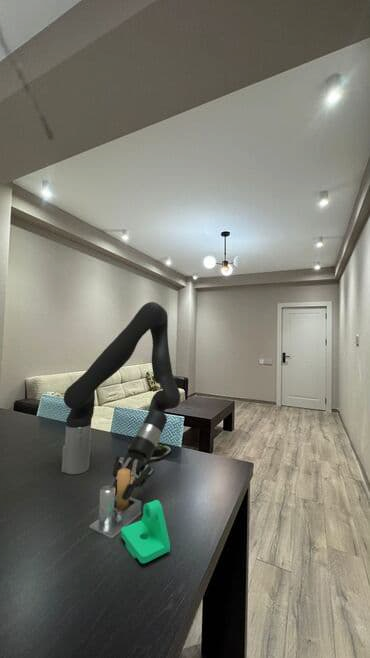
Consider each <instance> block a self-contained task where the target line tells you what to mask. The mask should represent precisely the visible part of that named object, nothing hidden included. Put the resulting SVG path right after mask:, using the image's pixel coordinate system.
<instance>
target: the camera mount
mask: <svg viewBox="0 0 370 658" xmlns="http://www.w3.org/2000/svg"><path fill="white" fill-rule="evenodd" d="M142 514H143V515H142V517H141V519H140V520H138V521H136V522H134V523H133V522H132V523H130V524H128V525H127V526H125V527H123V528H122V529H121V531H120V537H121V539H122V540H123V541H124V542H125V548H126V550H128V552H129V553H130V555H131V556H132V557H133V559H137V560H138V561H139V563H140V564H146V563H149V562H151V561H153V560H154V559H157V558H158V557H161V556H163V555H165V554H166V553H169V552H170V551H171V542H170V538H169V533H168V529H167V524H166V520H165V519H166V518H165V515H164V510H163V506H162V504H161V502H160V500H158V499H155V500H152V501H150V502H147V503H144V504H143V506H142Z"/></svg>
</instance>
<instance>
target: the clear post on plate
mask: <svg viewBox="0 0 370 658" xmlns="http://www.w3.org/2000/svg"><path fill="white" fill-rule="evenodd" d="M116 499H117V496H115V487H114V486H113V485H111V484H110V485H105V486H102V487H101V488H100V489H99V507H98V519H96V520H95V521H94V522H93V523H91V524H90V525H89V529H92V530H94V531H96V532H97V533H99V534H102V535H104V536H106V537H108V538H110V539H114V538H115V536H116V535H118V534H119V533H121V529H122V528H123V527H125V526H128V525H130V524H132V523H133V521H135V520H136V519H137V518H138V517H139V516H141V514H142V501H141V500H139V499H137V498H135V497H134V498H133V497H132V496H130V498H129V508H127V509H126V510H125V511H121V510H119V509H117V508H116Z"/></svg>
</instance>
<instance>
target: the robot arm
mask: <svg viewBox="0 0 370 658" xmlns="http://www.w3.org/2000/svg"><path fill="white" fill-rule="evenodd" d="M168 317H169V316H168V312H167V310H166V309H165V308H164V307H163V306H161V305H160V304H159V303H157V302H154V301H150V302H147V303H145V304H144V305H142V306H141V307H140V308H139V310H138V311H137V312H136V314H135V315H134V316H133V318H132V319H131V320H130V322H129V323H128V324H127V326H126V327H125V328H124V329H123V330H122V331H121V332H119V334H118V336H117V337H115V339H114V340H112V342H111V343H109V345H108V346H107V347H106V348H104V350H103V351H102V352H101V354H100V355H99V356H98V357H97V358H96V359H95V361H93V363H92V364H91V365H90V366H89V368H88V369H87V370H86V371H85V372H84V373H83V374H82V375H81V376H80V377H79V378H78V379H76V380H75V381H74V382H73V383H72V384H70V385H69V386H68V388H66V390H65V392H64V394H63V402H64V405H65V406H66V407H67V408H69V409H70V411H69V414H68V415H67V417H66V419H65V422H66V423H65V440H64V445H63V446H62V454H61V455H62V456H61V457H62V458H61V473H65V474H67V475H78V474H79V475H80V474H83V473H86V472H87V471H88V470H90V457H91V456H90V454H91V436H92V435H91V434H92V419H93V416H94V413H95V411H94V410H95V401H96V393H95V391H96V390H97V389H98V388H99V387H100V386H101V385H102V384H103V383H104V382H106V381H107V380H108V379H109V378H111V377H112V376H114V374H116V373H117V372H118V371H119V370H120V369H121V368H122V367H124V365H125V364H127V362H128V361H129V360H130V359H131V357H132V356H133V354H134V352H135V350H136V347H137V346H138V344H139V342H140V341H141V339H142V337H144V335H145V334H146V333H147V332H148V331H150V333H151V334H150V335H151V338H152V352H151V368H152V375H153V380H154V383H156V384H160V386H161V389H160V390H157V391H156V392H155V393H154V395H153V397H152V398H151V401H150V403H149V404H150V405H149V408H148V414H147V415H146V417H145V419H144V420H143V422H142V425H141V426H140V427H139V429H138V431H137V433H136V434H135V436H134V438H133V440H132V442H131V443H130V445H131V446H130V447H128V452H127V453H126V455H124V457H120V456H119V455H118V456H116V457H115V460H114V465H113V468H112V470H113V471H112V474H111V475H112V477H114V482H113V484H112V486H114V487H115V497H117V476H118V470H120V469H123V468H127V469H129V470H130V482H129V484H128V485H127V487H126V489H125V491H124V493H123V495H122V499H124V500H126V501H127V499H129V498H130V497H132V494H133V491H134V489H135V488H137V487H138V488H142V486H144V484H145V483H146V482H147V481H148V479H149V478H150V477H151V476H152V475H153V474H154V471H155V470H154V469H153V468H152V466H150V465H149V462H150V461H149V460H150V459H151V457H152V454H153V452H154V450H155V448H156V446H157V444H158V445H159V442H160V438H161V436H162V434H163V430H164V429H165V427H166V424H167V421H168V417H167V416H166V414H165V412H166V410H171V409H175V408H177V407H178V406H179V405H180V401H181V393H180V389H179V387H178V384H177V382H176V380H175V378H174V375H173V368H172V362H171V355H170V350H169V348H170V347H169V338H168V329H169V328H168ZM142 471H143V472H142Z"/></svg>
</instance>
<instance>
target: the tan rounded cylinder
mask: <svg viewBox="0 0 370 658" xmlns="http://www.w3.org/2000/svg"><path fill="white" fill-rule="evenodd" d="M130 478H131V473H130V470H129V469H127V468H123V469H120V470H118V476H117V494H116V497H117V499H116V508H117V509H119V510H121V511H125V510H126V509H127V508H129V499H127V501H126V500H124V499H122V495H123V493H124V491H125V489H126V487H127V485H128V484H129V482H130Z"/></svg>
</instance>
